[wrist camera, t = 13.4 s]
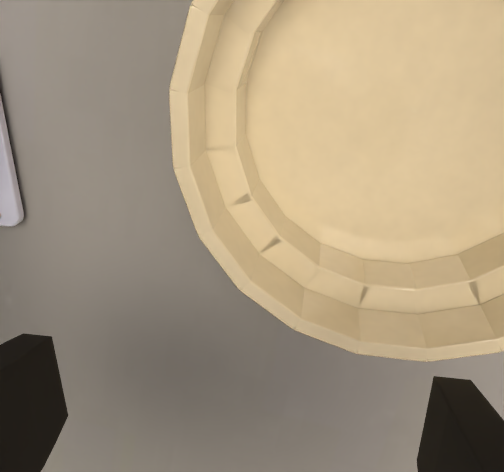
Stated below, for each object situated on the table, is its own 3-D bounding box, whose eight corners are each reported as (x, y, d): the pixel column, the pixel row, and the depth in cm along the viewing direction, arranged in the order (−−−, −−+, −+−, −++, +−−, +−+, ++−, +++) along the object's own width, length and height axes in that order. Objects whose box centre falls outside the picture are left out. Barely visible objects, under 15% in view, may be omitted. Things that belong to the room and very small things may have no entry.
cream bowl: (211, 271, 19) (180, 335, 15) (203, -132, 14) (153, -188, 10) (564, 304, 17) (627, 385, 14) (717, -143, 12) (895, -216, 8)
